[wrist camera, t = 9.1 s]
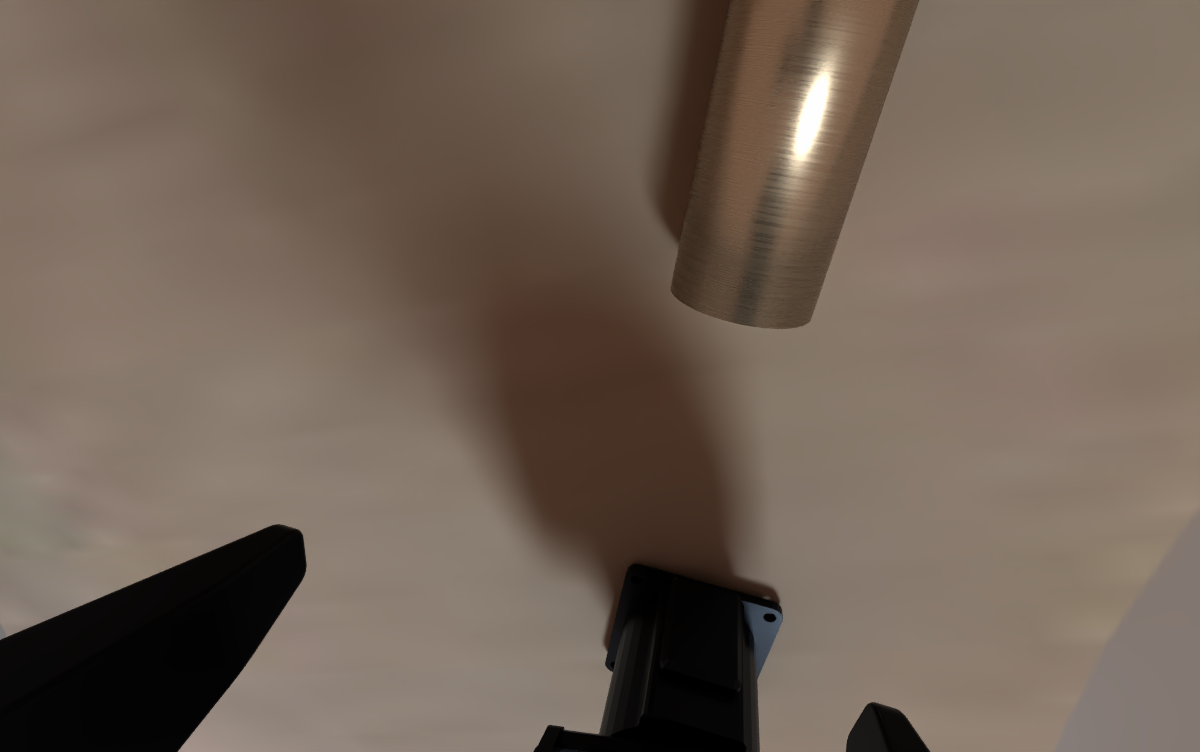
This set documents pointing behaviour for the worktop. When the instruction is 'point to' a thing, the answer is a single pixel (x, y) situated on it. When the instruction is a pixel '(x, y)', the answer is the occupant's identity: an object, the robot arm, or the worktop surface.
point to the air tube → (784, 153)
